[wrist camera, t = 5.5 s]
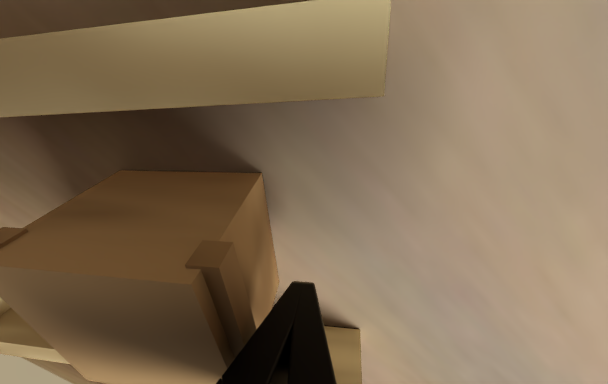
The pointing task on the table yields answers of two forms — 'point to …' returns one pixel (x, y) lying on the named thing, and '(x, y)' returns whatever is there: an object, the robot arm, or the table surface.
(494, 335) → the table surface
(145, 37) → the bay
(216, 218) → the box
